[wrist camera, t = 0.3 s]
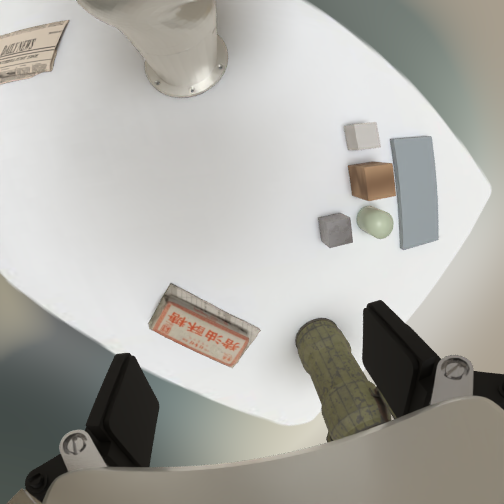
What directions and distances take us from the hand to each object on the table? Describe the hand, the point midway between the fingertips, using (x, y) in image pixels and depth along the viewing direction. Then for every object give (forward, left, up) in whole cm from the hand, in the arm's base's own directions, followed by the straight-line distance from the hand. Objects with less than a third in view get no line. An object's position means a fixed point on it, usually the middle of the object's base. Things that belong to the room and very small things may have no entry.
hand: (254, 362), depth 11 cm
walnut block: (0, +22, -36) cm, 42 cm away
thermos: (+28, +10, -36) cm, 47 cm away
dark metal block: (+7, +15, -36) cm, 40 cm away
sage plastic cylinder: (+7, +22, -36) cm, 43 cm away
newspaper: (-40, -33, -37) cm, 63 cm away
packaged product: (+20, -9, -36) cm, 42 cm away
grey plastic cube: (-7, +22, -36) cm, 43 cm away
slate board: (+4, +33, -36) cm, 49 cm away
